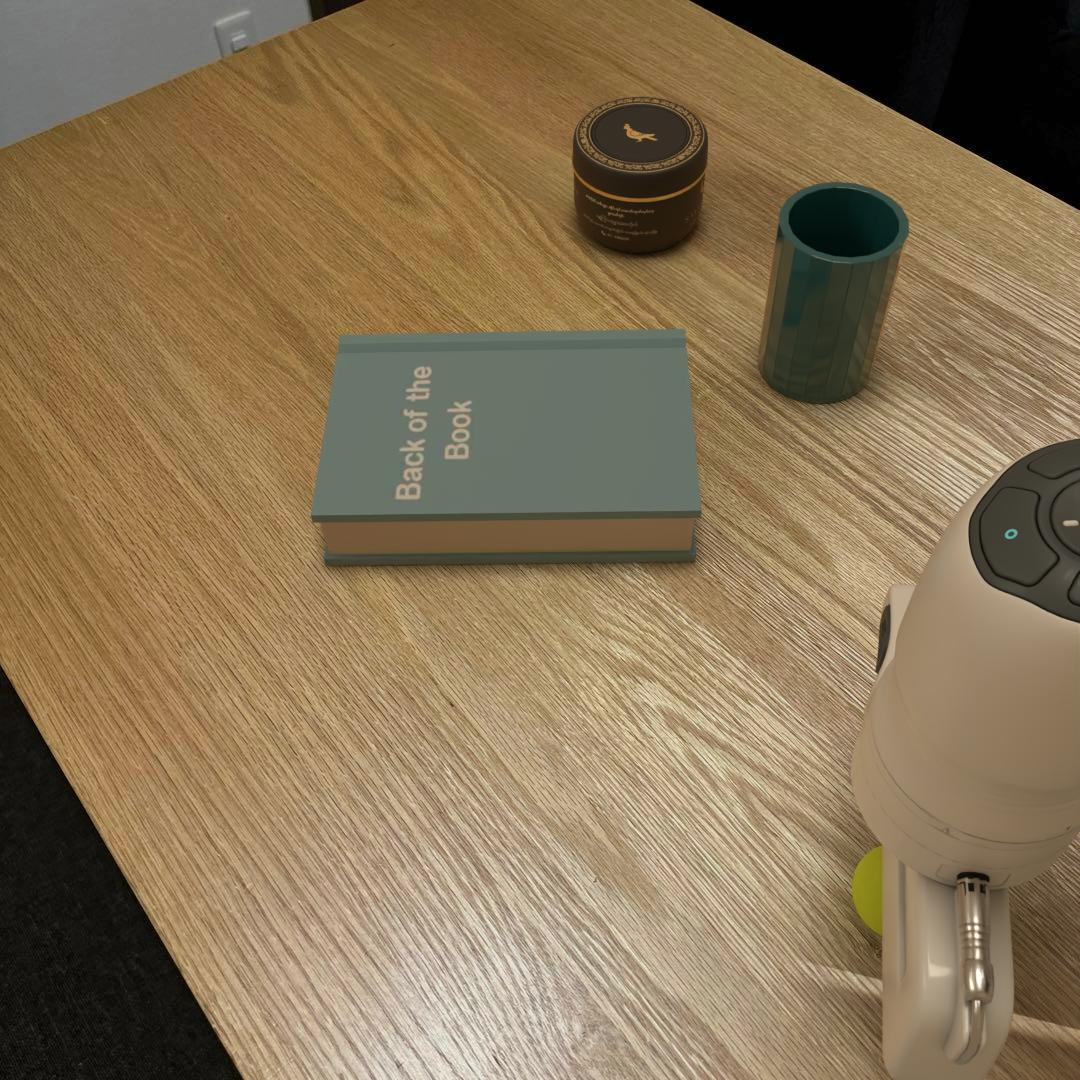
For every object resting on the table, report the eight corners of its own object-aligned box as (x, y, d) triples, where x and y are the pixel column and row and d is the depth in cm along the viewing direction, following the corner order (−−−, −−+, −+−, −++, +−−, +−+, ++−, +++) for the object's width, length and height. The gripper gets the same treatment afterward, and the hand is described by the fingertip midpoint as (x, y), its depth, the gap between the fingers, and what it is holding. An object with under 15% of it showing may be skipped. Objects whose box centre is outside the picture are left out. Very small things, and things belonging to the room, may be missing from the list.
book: (325, 565, 73) (310, 515, 69) (353, 378, 83) (341, 324, 79) (695, 561, 72) (701, 510, 68) (679, 373, 82) (684, 318, 78)
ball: (937, 871, 60) (960, 834, 57) (940, 962, 58) (963, 929, 54) (845, 858, 61) (861, 820, 57) (843, 947, 58) (860, 913, 55)
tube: (872, 329, 84) (908, 186, 75) (871, 409, 80) (910, 268, 70) (760, 319, 85) (782, 177, 76) (753, 397, 81) (775, 257, 71)
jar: (688, 269, 89) (696, 183, 82) (558, 250, 90) (556, 164, 84) (712, 188, 94) (720, 102, 88) (589, 171, 96) (589, 85, 90)
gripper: (1081, 1056, 40) (976, 1139, 51) (1034, 570, 52) (957, 721, 63) (890, 1025, 41) (827, 1113, 52) (888, 554, 53) (837, 706, 64)
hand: (898, 895), depth 58 cm, fingers closed on ball, 4 cm apart
